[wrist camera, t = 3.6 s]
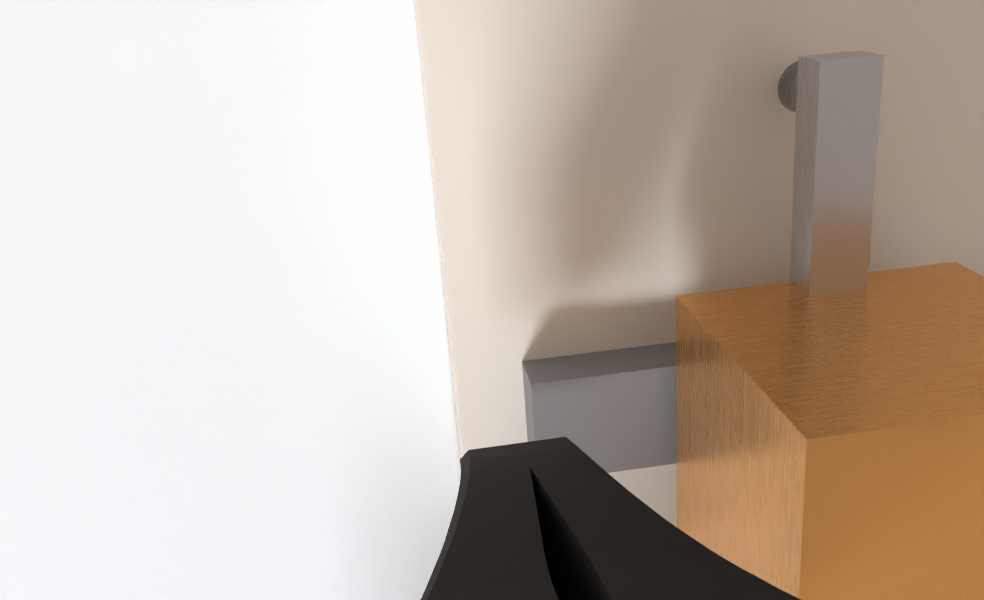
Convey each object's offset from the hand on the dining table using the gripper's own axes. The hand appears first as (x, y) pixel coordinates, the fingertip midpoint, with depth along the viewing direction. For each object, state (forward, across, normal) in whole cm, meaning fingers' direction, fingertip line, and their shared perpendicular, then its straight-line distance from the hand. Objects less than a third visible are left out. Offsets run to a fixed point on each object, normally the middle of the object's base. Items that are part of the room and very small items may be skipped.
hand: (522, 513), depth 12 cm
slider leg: (+2, -5, -1) cm, 5 cm away
